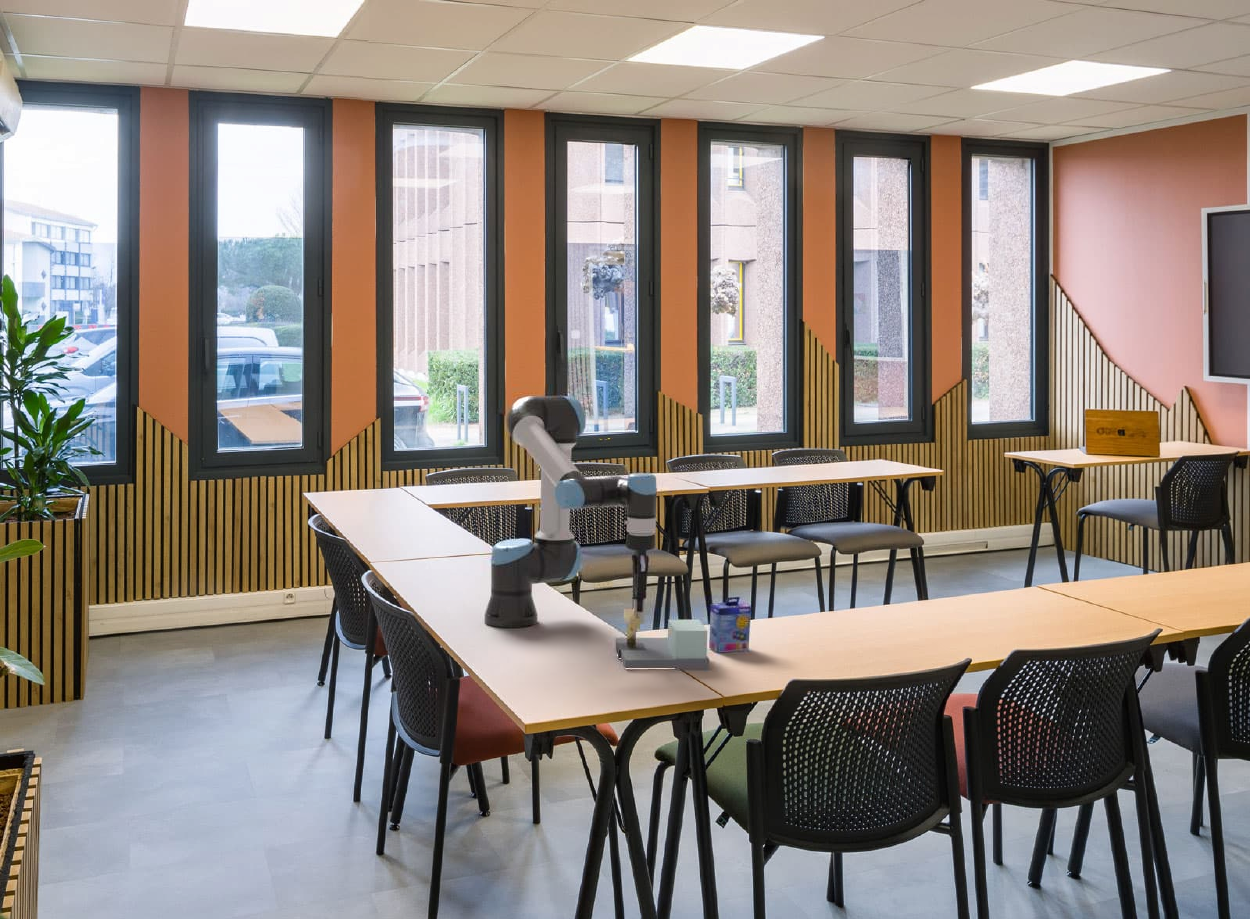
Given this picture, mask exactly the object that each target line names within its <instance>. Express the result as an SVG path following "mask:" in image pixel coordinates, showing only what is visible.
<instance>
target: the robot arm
mask: <svg viewBox="0 0 1250 919" xmlns="http://www.w3.org/2000/svg"><path fill="white" fill-rule="evenodd" d="M586 422H587V421H586V413H585V410H584V407H583V406H582V404H581V402H580V401H579V400H578V399H577V398H576V397H573V396H567V395H566V396H565V395H543V396H542V395H541V396H540V395H539V396H538V395H537V396H535V395H529V396H524V397H521V398H519V399H517V401H514V403H513V404H512V405H511V407H510V408H509V410H508V413H507V414H506V428H507V432H508V434H509V436H510V438H511V439H512V440H513V441H514V442H515V443H516V444H517V445H519V446H522V447H523V448H524V449H525V450H526V451H527V453H528V454H529V456H530V457H531V458H532V459H533V460H534V462H535V463H536V464H537V465H538V467H539V468H540V469H541V470H540V502H539V503H540V505H539V506H540V508H539V509H540V511H539V512H540V513H539V530H538V531H537V532H535V534H534V539H533V540H534V542H533V541H532V539H529V538H511V539H504V540H502V541H498V542H497V543H496V544H494V545H493V547H492V549H491V558H490V563H491V564H490V565H491V567H490V568H491V572H490V573H491V574H490V575H491V576H490V578H491V581H490V582H491V583H490V587H491V588H490V590H491V591H490V597H489V600H488V603H487V606H486V609H485V612H484V623H485V624H486V625H488V626H493V627H498V628H522V627H521V626H526V627H528V626H527V625H531V626H533V625H532V624H534V623H536V622H537V623H538V616H539V615H538V612H537V608H536V605H535V601H534V599H533V598H534V597H533V591H532V590H533V585H534V584H545V583H553V582H557V583H560V582H563V581H569V580H572V579H573V578H575V577H576V575H578V573H579V572H580V571H581V570H580V569H581V566H582V563H583V553H582V552H583V551H582V550H581V545H580V544H579V542H578V541H576V540H575V535H574V534H573V533H572V532H571V531H570V522H571V520H570V519H571V513H570V512H571V510H580V509H582V510H583V509H592V508H594V509H595V508H609V507H610V508H611V507H613V508H614V507H621V508H626V519H627V520H624V521H623V522H624V524H625V525H626V532H627V534H626V536H625V547H626V548H627V549H628V550H632V551H634V553H633V554H631V560H632V561H631V562H632V591H631V592H632V594H633V595H632V597H631V599H632V600H633V608H632V609H633V610H634V611H635V612H636V613H637V614H638V616H639V617H640V625H645V609H646V608H645V600H646V599H647V585H648V583H647V582H648V571H649V568H650V566H649V560H650V557H649V556H648V555H647V551H652V550H654V549H655V548H656V535H655V533H656V530H657V527H656V526H657V516H656V514H657V495H658V494H657V493H658V488H657V477H656V476H655V474H653V473H645V472H636V473H635V472H634V473H629V474H628V476H627V478H625V477H621V476H612V475H610V476H607V477H605V478H586V477H585V476H584V475H583V474H582V473H581V471H580V470H579V469H578V468H577V466H575V464H574V463H573V461H572V449H573V448H574V447H575V445H577V444H578V442H577V441H578V437H579V436H581V435H583V433H584V430H585V428H586ZM537 623H536V624H537ZM534 625H535V624H534Z"/></svg>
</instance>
